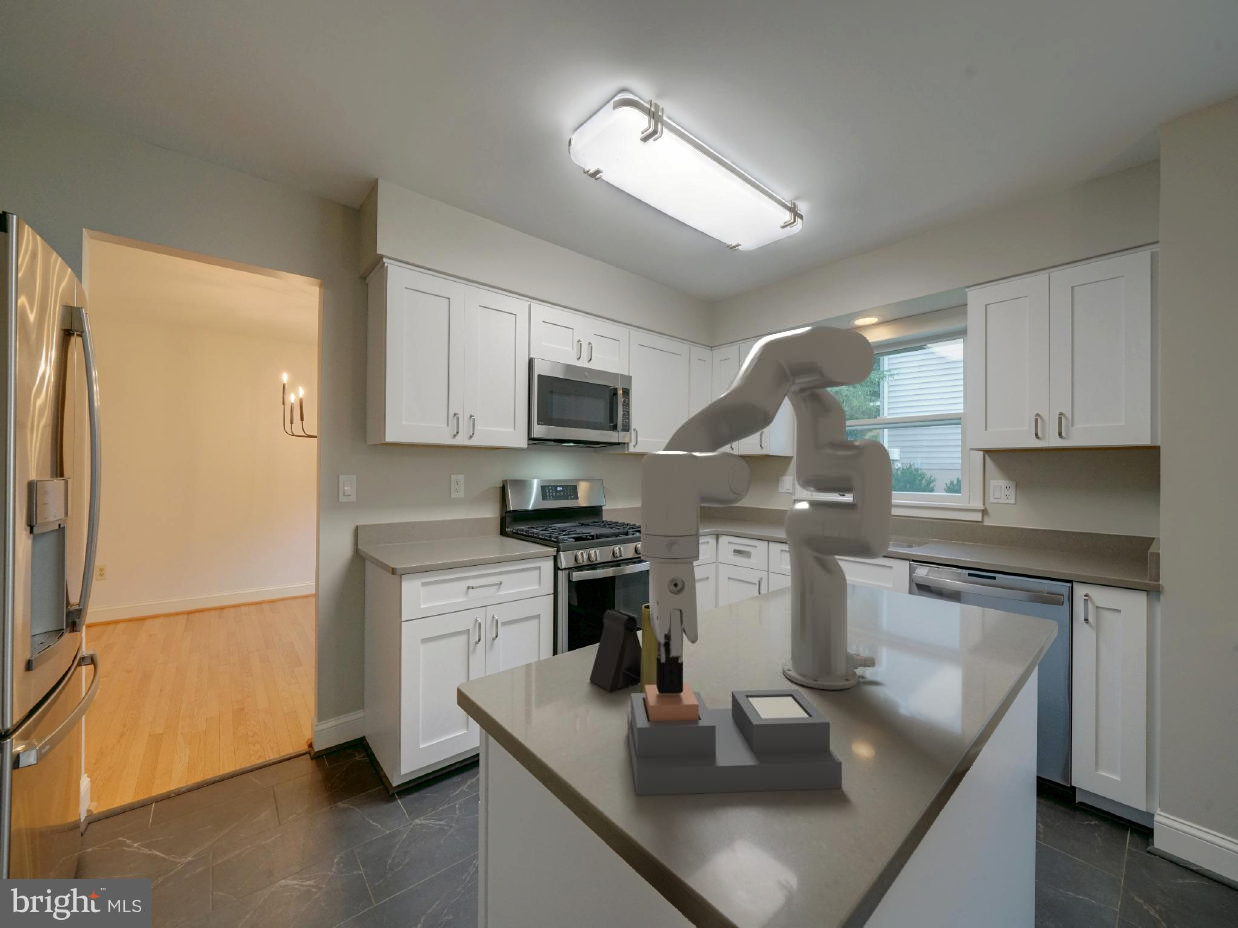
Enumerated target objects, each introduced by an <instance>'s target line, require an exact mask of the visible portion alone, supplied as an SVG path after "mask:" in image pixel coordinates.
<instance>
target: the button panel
mask: <svg viewBox="0 0 1238 928" xmlns="http://www.w3.org/2000/svg"><path fill="white" fill-rule="evenodd" d="M693 693H694V695H695V698H696V700H697V702H698V704H699V720H686V721H650V722H648V719H647V715H646V711H645V693H640V692H639V693H638V692H635V693H634V692H632V693H631V694H630V711H629V710H627V737H628V745H629V751H630V758H631V765H632V772H633V779H634V780H633V781H634V786H635V792H636V796H655V795H658V796H659V795H681V794H682V795H683V794H684V795H685V794H710V793H713V794H714V793H740V792H741V793H742V792H766V791H767V792H768V791H770V792H771V791H794V790H796V791H797V790H820V789H821V790H822V789H825V790H826V789H842V788H843V772H842V771H843V767H842V766H843V765H842V764H843V762H842V760H840V758H839V757H838V756H837V755H836V753H834V751H833V750H832V749H831V725H830V723H831V722H830V721H829V720H828V719H827V717H825V715H824V714H823V713H821V712H820V710H819V709H818V708H817V707H816V706H815V705H814V704H813V703H812V702H811V701H810V700H809V699H808V698H807V696H805V695H804V694H803V692H802V691H800V690H799V689H796V688H794V689H792V688H791V689H761V690H760V689H759V690H758V689H756V690H751V689H750V690H731V708H708V707H707V705H706V703H705V701H704V698H703V697H702V695H701V693H700V691H693ZM763 697H792V698H793V700H794V701H795V702H796V703H797V704H798V705H799V706H800V707H801V709H802V710H803V711H804V712H805V713H806V714H807V715H808V716H809V717H794V718H760V716H759V715H758V713H757V712H756V710H755V709H754V708H753V706H752V705H751V703H750V702H749V700H748V698H763Z"/></svg>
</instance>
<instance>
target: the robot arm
mask: <svg viewBox="0 0 1238 928" xmlns="http://www.w3.org/2000/svg"><path fill="white" fill-rule="evenodd" d="M875 357H876V356H875V352H874V348H873V345H872V343H871V342H870V340H869V339H868V338H867V337H866V336H865V335H864V334H862V333H860V332H858V331H852V330H849V329H845V328H840V327H834V326H828V325H811V326H806V327H803V328H798V329H794V330H789V331H784V332H780V333H776V334H772V335H768V336H766V337H763V338H762V339H760V340H758V341H757V342H756V343H755V344H754V345H753V346H752V348H751V349H750V351H749V353H748V354H747V356H746V358H745V359H744V361H743V362H742V364H741V365H740V368H739V369H738V370H737V373H736V374H735V375H734V377H733V379H732V380H731V382H730V383H729V385H728V387H727V388H726V390H725V392H724V393H723V394H721V396H718V398H716V399H715V400H713V401H712V402H710V403H709V404H707V405H706V406H704V407H703V408H702V409H701V410H699V411H698V412H697V413H695V414H694V415H693V416H691V417H690V418H688V419H687V420H686V421H685V422H684V423H682V424H681V426H679V427H678V428H677V429H676V430H675V432H674V433H673V434H672V436H671V437H670V439H669V440H668V441H667V443H666V445H665V446H664V448H663V449H662V451H652V452H649V453H646V454H645V455H644V456H643V458H642V461H641V468H640V469H641V470H640V473H641V475H640V480H641V481H640V482H641V483H640V490H641V491H640V492H641V493H640V497H641V498H640V501H641V504H640V507H641V508H640V559H641V560H642V561H647V562H649V568H648V569H649V575H648V577H649V578H648V581H649V582H648V583H649V585H648V589H649V590H648V592H649V595H648V597H649V603H650V620H651V625H652V628H653V631H654V633H655V636H656V638H657V653H658V657H656V686H657V689H658V692H659V693H660V694H673V693H682V692H683V684H684V660H683V659H684V658H683V657H684V656H683V655H684V635H685V637H686V639H687V640H688V642H689V643H691V644H692V645H694V644H696V643H697V642H698V641H699V640H698V639H699V634H698V633H699V632H698V631H699V629H698V606H697V600H698V599H697V585H696V584H697V583H696V573H695V566H694V565H695V564H694V562H698V561H700V531H701V529H700V527H701V526H700V521H701V520H700V506H703V507H716V508H718V507H719V508H723V507H731V506H735V505H736V504H738V503H740V502H741V501H742V500H743V499H745V498H746V496H747V495H748V493H749V491H750V489H751V485H752V474H751V469H750V467H749V465H748V464H747V462H746V461H745V460H744V459H743V458H741V457H740V456H739V455H738V454H735V453H732V452H728V451H719V450H720V449H723V448H724V447H726V446H729V445H730V444H733V443H737V442H738V441H741V440H744V439H747V438H749V437H752V436H754V435H756V434H757V433H760V432H761V431H764V430H765V429H767V428H768V427H769V426H770V425H772V423H773V421H774V420H775V419H776V416H777V414H778V412H779V410H780V409H781V407H782V405H783V402H784V401H785V399H786V398H787V399H788V401H789V403H790V405H791V407H792V408H793V412H794V414H795V419H796V420H795V421H796V422H795V423H796V425H795V426H796V432H795V433H796V435H795V436H796V439H795V440H796V441H795V479H796V482H797V485H798V487H799V488H800V489H802V490H804V491H806V492H811V493H815V494H816V493H817V494H818V493H819V494H839V495H840V494H841V495H854V496H855V502H851V501H837V500H836V501H835V500H819V499H818V500H817V499H815V500H804V501H803V500H802V501H800V502H797V503H795V504H793V505H792V506H791V507H790V508H788V510H787V512H786V515H785V516H784V533H785V538H786V542H787V547H788V548H787V549H788V554H789V565H790V655H791V656H790V659H787V660H785V662H783V663H782V666H781V667H782V673H783V675H784V676H785V677H786V678H787V679H789V680H790V681H792V682H793V683H796V684H799V685H802V686H805V687H809V688H814V689H818V690H833V691H834V690H835V691H838V690H845V689H849V688H852V687H855V686H856V684H857V683H858V673H857V672H856V671H855V670H858V669H859V668H874V667H875V666H876V660H875V658H874V656H873V655H861V654H860V653H859V652H850V651H848V650H849V649H848V643H849V642H848V582H847V576H846V574H845V571H844V569H843V568H842V566H841V564H840V563H839V561H838V559H837V558H836V557H842V558H843V557H844V558H845V557H846V558H852V559H861V560H879V559H881V558H882V557H883V556H885V555H886V553H887V552H888V550H889V547H890V544H891V538H892V537H891V536H892V515H893V514H892V513H893V510H892V508H893V502H892V501H893V466H892V465H893V464H892V460H891V456H890V453H889V451H888V449H887V448H886V447H885V445H884V444H882V443H881V442H880V441H878V440H875V439H870V438H869V439H867V438H859V439H858V438H857V439H847V415H846V414H847V413H846V411H845V409H844V407H843V406H842V404H841V402H840V401H839V400H838V398H836V397H835V396H834V394H833V393H831V392H830V391H829V390H828V389H830V388H831V389H832V388H838V387H845V386H846V387H849V386H854V385H858V384H862V383H863V382H865V381H866V380H867V379H868V378H869V377H870V376H871V374H872V372H873V371H874V367H875Z"/></svg>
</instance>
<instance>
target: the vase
mask: <svg viewBox="0 0 1238 928" xmlns="http://www.w3.org/2000/svg"><path fill="white" fill-rule="evenodd" d="M641 607H642V608H641V648H642V658H641V675H640V684H639V689H638V690H639V693H645V685H656V657H658V653H657V638H656V636H655V633H654V631H653V628H652V625H651V620H650V602H649V603H646V604H643V605H642V606H641Z"/></svg>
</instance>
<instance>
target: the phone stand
mask: <svg viewBox="0 0 1238 928" xmlns="http://www.w3.org/2000/svg"><path fill="white" fill-rule="evenodd" d="M641 658H642V644H641V642H640V639H639V636H638V620H637V618H636V617H635V616H633V615H631V614H629V613H628V614H627V613H625V612H622V611H619V610H617V609H614V608H611V610H610V609H607V610H606V611H605V613H604V614H603V629H602V632H601V636H600V640H599V644H598V648H597V651H596V655H595V658H594V661H593V667H592V669H591V672H590V676H589V681H590V683H592V684H594V685H596V686H598V687H599V688H601V689H603V690H605V691H606V692H608V693H610V694H612V693H615V692H619V691H621V690H626V689H627V688H630V687H634V686H637V685H640V675H641Z"/></svg>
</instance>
